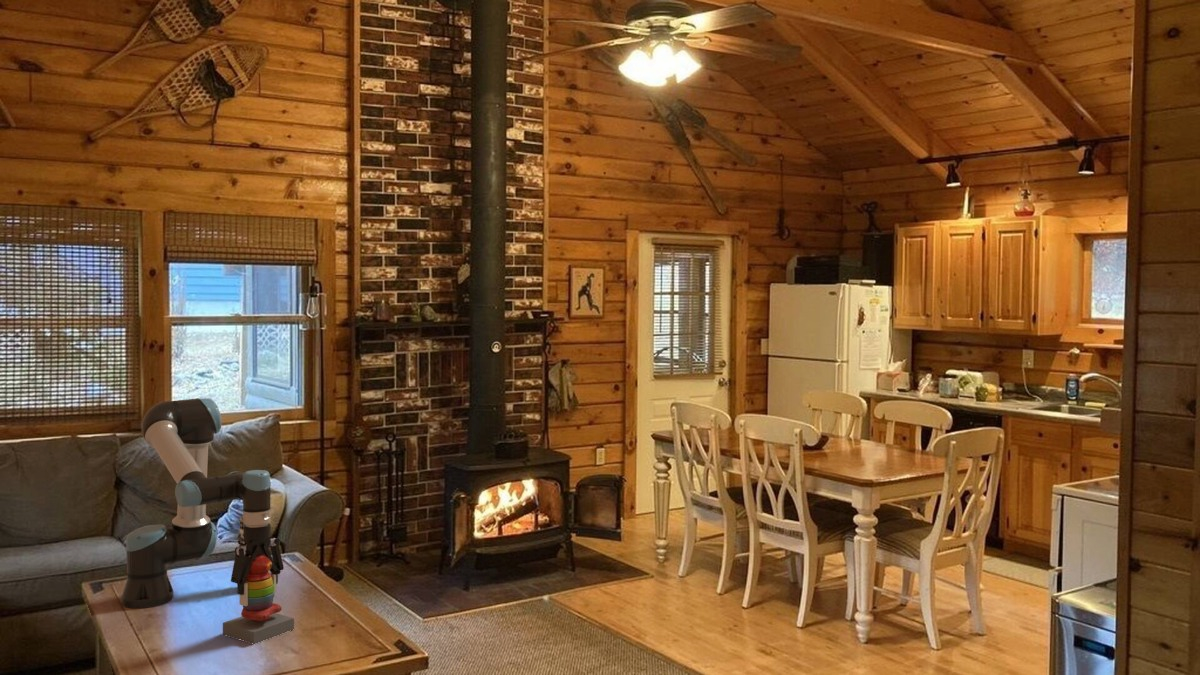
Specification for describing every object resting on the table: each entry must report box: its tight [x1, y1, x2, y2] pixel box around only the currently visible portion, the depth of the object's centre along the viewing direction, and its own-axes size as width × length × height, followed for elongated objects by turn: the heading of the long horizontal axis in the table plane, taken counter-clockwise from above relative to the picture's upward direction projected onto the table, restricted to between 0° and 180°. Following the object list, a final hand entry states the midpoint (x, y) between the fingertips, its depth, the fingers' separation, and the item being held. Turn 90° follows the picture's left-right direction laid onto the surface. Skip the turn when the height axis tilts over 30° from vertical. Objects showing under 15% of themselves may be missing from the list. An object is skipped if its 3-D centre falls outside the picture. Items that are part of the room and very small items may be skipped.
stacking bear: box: [240, 555, 282, 621], centre depth 285 cm, size 11×10×18 cm
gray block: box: [222, 612, 295, 645], centre depth 286 cm, size 14×14×4 cm
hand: (258, 600), depth 285 cm, fingers closed on stacking bear, 9 cm apart
